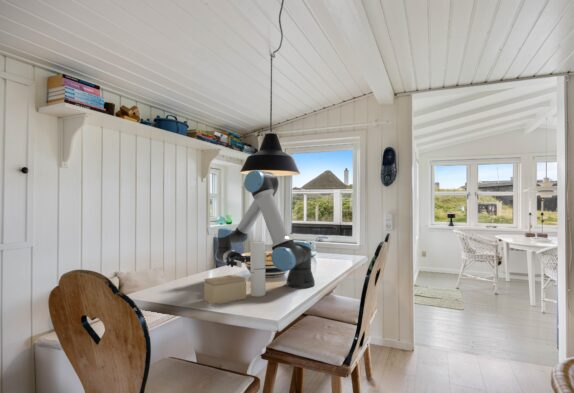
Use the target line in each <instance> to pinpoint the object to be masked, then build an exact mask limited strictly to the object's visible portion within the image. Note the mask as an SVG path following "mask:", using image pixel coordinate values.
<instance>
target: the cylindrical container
mask: <svg viewBox="0 0 574 393" xmlns="http://www.w3.org/2000/svg"><path fill="white" fill-rule="evenodd" d="M249 243H250V244H249V246H250V247H249V248H250V251H249V252H250V255H249V256H250V262H249V263H250V268H249V269H250V296H252V297H264V296H266V294H267V293H266V290H267V289H266V241H261V240H260V241H259V240H257V241H256V240H254V241H250V242H249Z"/></svg>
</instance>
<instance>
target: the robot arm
mask: <svg viewBox="0 0 574 393" xmlns="http://www.w3.org/2000/svg"><path fill="white" fill-rule="evenodd" d="M279 184H280V183H279V179H278V177H277V176H276V174H274V173H273V172H269V171H264V170H263V171H262V170H258V169H255V170H253V169H252V170H251V171H249V172H248V173H247V174H246V176H245V178H244V182H243V185H244V188H245V190H246V191H247V192H249V193H251V196H252V198H253V201H252V202H251V204H250V206H249V207H248V209H247V211H246V212H245V214H244V215H243V216H242V219H241V220H240V222H239V224H238V225H237V227H236V228H235V230H232V228H230V227H221V228H218V230H217V249H216V252H215V254H214V258H215V260H216V261H218V262H219V263H222V264H226V266H227V267H231V268H233V267H237V268H242V267H243V266H242V265H243V264H247V263H250V255H242V254H241V253H240V251H235V250H232V245H233V244H242V243H245V242H247V241H248V239H249V232H250V230H251V229H252V228H253V226H254V224H255V223H256V221H257V220H258V218H259V217H260V215H262V216H263V217H262V218H263V219H264V222H265V223H264V224H266V227H267V230H268V233H269V236H270V238H271V241H272V245H271V250H272V252H271V255H270V256H271V258H270V259H271V262H272V265H273V266H274V267H275V268H276V269H278V271H279V270H280V271H288V274H287V277H286V280H285V281H286V284H285V286H287V287H289V288H294V289H296V288H297V289H307V288H312V287H314V286H315V282H316V280H315V278H314V274H313V272H312V243H310V242H307V241H294V239H293V238H292V237H290V236H289V234H288V232H287V228H286V226H285V224H284V221H283V219H282V215H281V213H280V210H279V208H278V205H277V202H276V199H275V194H277V191H278V188H279Z"/></svg>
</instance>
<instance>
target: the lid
mask: <svg viewBox="0 0 574 393" xmlns="http://www.w3.org/2000/svg"><path fill="white" fill-rule="evenodd" d="M203 280H204V282H207V283H209V284H212V285H221V284H227V283H233V282H239V281H246V278H245V277H243V276H241V275H238V274H230V275H222V276H216V277H209V278H204V279H203Z"/></svg>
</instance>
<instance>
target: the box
mask: <svg viewBox="0 0 574 393" xmlns="http://www.w3.org/2000/svg"><path fill="white" fill-rule="evenodd" d="M203 283H204V285H203V291H204V292H203V298H204V301H206V302H208V303H209V304H211V305H213V306H215V305H220V304H224V303H226V304H227V303H231V302H236V301H239V300H245V299H247V280H245V281H239V282H233V283H227V284H221V285H212V284H209V283H207V282H205V281H204V282H203Z"/></svg>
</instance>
